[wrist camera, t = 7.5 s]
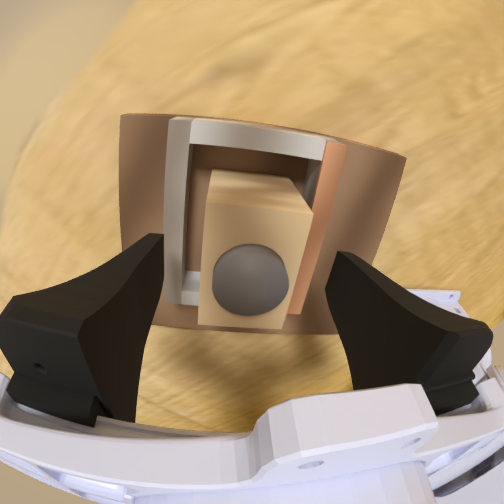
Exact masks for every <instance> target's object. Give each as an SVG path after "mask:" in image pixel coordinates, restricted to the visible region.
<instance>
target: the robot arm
mask: <svg viewBox="0 0 504 504" xmlns="http://www.w3.org/2000/svg"><path fill="white" fill-rule="evenodd" d="M163 281H164V234H158V233H148V234H147V235H145V236H144V237H142V238H141V239H140V240H138V241H137V242H136V243H134V244H133V245H131V246H130V247H129V248H127V249H126V250H124V251H123V252H122V253H120V254H118V255H117V256H115V257H114V258H112V259H111V260H109V261H108V262H106V263H104V264H103V265H101V266H99V267H97V268H96V269H94V270H92V271H90V272H88V273H86V274H84V275H81V276H79V277H77V278H74V279H72V280H70V281H67V282H65V283H62V284H59V285H56V286H53V287H50V288H46V289H43V290H39V291H35V292H31V293H26V294H21V295H16V296H13V297H12V299H11V300H10V302H9V303H8V304H7V306H6V307H5V309H4V310H3V312H2V313H1V314H0V349H1V350H2V352H3V354H4V356H5V357H6V359H7V361H8V362H9V364H10V366H11V367H12V369H13V370H14V374H13V376H12V378H11V380H10V378H8V377H7V376H6V375H5V374H3V373H1V372H0V461H2V462H4V463H6V464H7V465H10V466H11V467H13V468H15V469H17V470H19V471H21V472H23V473H25V474H27V475H29V476H31V477H33V478H35V479H38V480H40V481H42V482H44V483H47V484H49V485H51V486H54V487H56V488H58V489H61V490H63V491H66V492H68V493H71V494H74V495H77V496H79V497H82V498H85V499H88V500H91V501H94V502H98V503H101V504H504V371H503V370H502V368H501V367H500V366H493V365H491V350H490V346H491V344H492V340H493V332H492V331H491V330H490V328H489V327H488V326H487V325H486V324H485V323H484V322H481V321H478V320H474V319H471V318H470V317H469V316H468V314H467V313H466V312H465V311H464V309H463V308H462V307H461V306H460V304H459V303H458V302H457V301H458V300H459V298H460V296H461V293H460V292H459V291H458V290H423V289H404V288H403V287H401V286H400V285H398V284H397V283H395V282H394V281H392V280H391V279H389V278H388V277H387V276H385V275H384V274H382V273H381V272H380V271H378V270H377V269H375V268H374V267H373V266H371V265H370V264H368V263H367V262H366V261H364V260H363V259H361V258H360V257H358V256H356V255H355V254H353V253H351V252H345V251H337V254H336V257H335V260H334V263H333V266H332V269H331V272H330V275H329V278H328V281H327V284H326V286H325V294H326V298H327V303H328V307H329V310H330V313H331V315H332V318H333V321H334V323H335V326H336V328H337V331H338V333H339V336H340V339H341V341H342V344H343V347H344V349H345V353H346V356H347V360H348V364H349V368H350V373H351V378H352V383H353V389H354V390H353V391H343V392H332V393H318V394H311V395H305V396H300V397H294V398H290V399H288V400H285V401H283V402H281V403H278V404H276V405H274V406H271V407H270V408H269V409H268V410H267V411H266V412H265V413H264V414H263V415H262V416H261V417H260V418H259V419H258V420H257V421H256V424H255V426H254V429H253V431H252V432H245V433H231V432H207V431H193V430H182V429H173V428H164V427H157V426H150V425H143V424H137V423H135V417H136V405H137V395H138V386H139V379H140V371H141V365H142V359H143V353H144V348H145V344H146V340H147V336H148V333H149V330H150V327H151V324H152V321H153V318H154V315H155V312H156V309H157V306H158V303H159V300H160V296H161V292H162V287H163Z"/></svg>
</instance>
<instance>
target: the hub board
mask: <svg viewBox="0 0 504 504" xmlns="http://www.w3.org/2000/svg"><path fill="white" fill-rule="evenodd" d="M406 159H407V158H405V157H403V156H401V155H399V154H397V153H394V152H390V151H387V150H384V149H380V148H377V147H373V146H369V145H366V144H362V143H358V142H354V141H350V140H346V139H342V138H338V137H333V136H329V135H324V134H320V133H315V132H310V131H305V130H300V129H294V128H289V127H283V126H277V125H271V124H264V123H257V122H250V121H242V120H234V119H224V118H214V117H203V116H189V115H171V114H124V115H121V120H120V139H119V206H120V227H121V242H122V252H123V251H124V250H126V249H127V248H129V247H130V246H131V245H133V244H134V243H136V242H137V241H138V240H140V239H141V238H142V237H144V236H145V235H147V234H148V233H158V234H164V281H163V287H162V292H161V296H160V300H159V303H158V306H157V309H156V312H155V315H154V318H153V321H152V324H151V325H160V326H169V327H179V328H189V329H201V330H214V331H229V332H247V333H271V334H339V333H338V331H337V328H336V326H335V323H334V321H333V318H332V315H331V313H330V310H329V307H328V303H327V298H326V294H325V286H326V284H327V281H328V278H329V275H330V272H331V269H332V266H333V263H334V260H335V257H336V254H337V251H345V252H351V253H353V254H355V255H356V256H358V257H360V258H361V259H363V260H364V261H366V262H367V263H368V264H370V265H372V263H373V260H374V257H375V255H376V252H377V250H378V247H379V244H380V241H381V239H382V236H383V233H384V230H385V227H386V224H387V222H388V219H389V216H390V213H391V209H392V206H393V203H394V200H395V197H396V194H397V190H398V187H399V184H400V180H401V177H402V173H403V170H404V166H405V163H406ZM212 168H221V169H230V170H239V171H248V172H256V173H264V174H271V175H278V176H285V177H289V178H290V180H291V181H292V183H293V184H294V186H295V187H296V189H297V190H298V191H299V193H300V194H301V196H302V197H303V199H304V200H305V202H306V203H307V205H308V206H309V208H310V209H311V211H312V212H313V214H314V215H313V219H312V220H313V224H312V228H311V232H310V236H309V239H308V243H307V247H306V251H305V254H304V258H303V262H302V265H301V269H300V272H299V276H298V279H297V283H296V286H295V290H294V293H293V297H292V300H291V303H290V307H289V310H288V314H287V317H286V320H284V323H283V326H282V329H261V328H241V327H225V326H211V325H199V324H198V307H199V288H200V272H201V257H202V243H203V231H204V219H205V208H206V199H207V194H208V189H209V183H210V178H211V173H212Z"/></svg>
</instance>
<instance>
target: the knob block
mask: <svg viewBox="0 0 504 504" xmlns="http://www.w3.org/2000/svg"><path fill="white" fill-rule="evenodd" d="M313 215H314V214H313V212H312V211H311V209H310V208H309V206H308V205H307V203H306V202H305V200H304V199H303V197H302V196H301V194H300V193H299V191H298V190H297V189H296V187H295V186H294V184H293V183H292V181H291V180H290V178H289V177H285V176H278V175H271V174H264V173H256V172H248V171H239V170H230V169H221V168H212V173H211V178H210V183H209V189H208V194H207V199H206V208H205V219H204V231H203V243H202V257H201V272H200V288H199V307H198V324H199V325H211V326H225V327H241V328H261V329H282V326H283V323H284V320H286V317H287V314H288V310H289V307H290V303H291V300H292V297H293V293H294V290H295V286H296V283H297V279H298V276H299V272H300V269H301V265H302V262H303V258H304V254H305V251H306V247H307V243H308V239H309V236H310V232H311V228H312V224H313V220H312V219H313Z"/></svg>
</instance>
